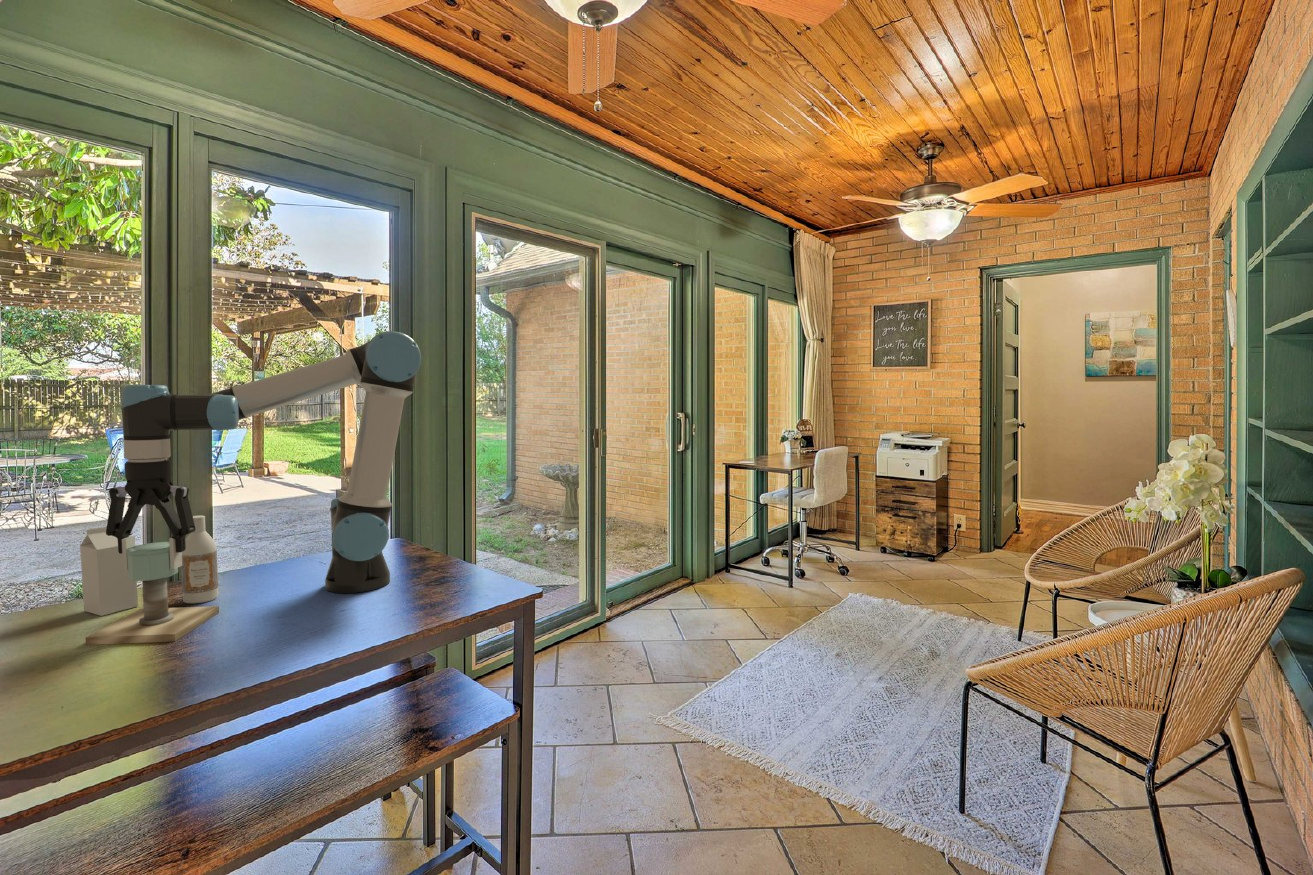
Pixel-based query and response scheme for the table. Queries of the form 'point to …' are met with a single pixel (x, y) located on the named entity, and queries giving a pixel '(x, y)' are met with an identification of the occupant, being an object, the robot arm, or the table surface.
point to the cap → (149, 561)
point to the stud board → (155, 631)
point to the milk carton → (105, 575)
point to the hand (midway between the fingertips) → (153, 567)
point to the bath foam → (199, 565)
